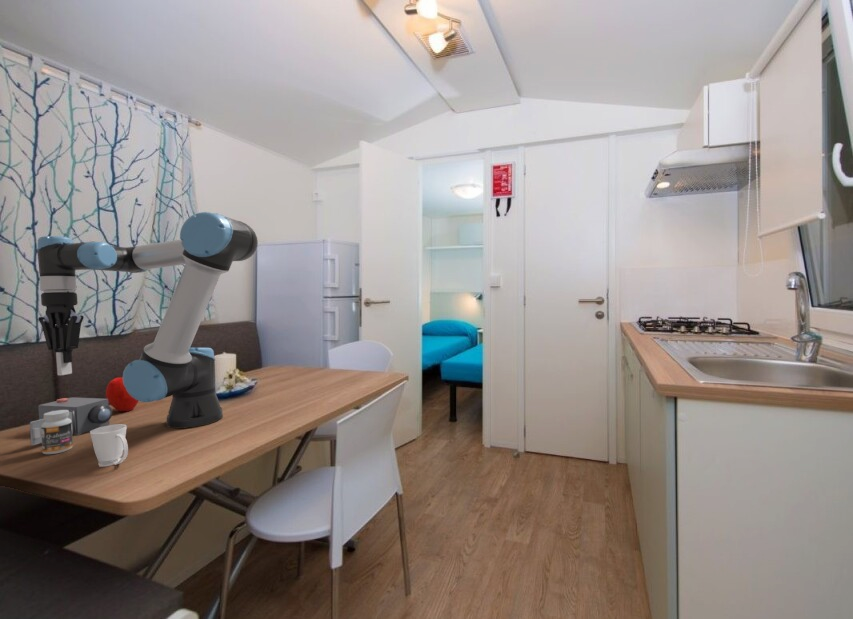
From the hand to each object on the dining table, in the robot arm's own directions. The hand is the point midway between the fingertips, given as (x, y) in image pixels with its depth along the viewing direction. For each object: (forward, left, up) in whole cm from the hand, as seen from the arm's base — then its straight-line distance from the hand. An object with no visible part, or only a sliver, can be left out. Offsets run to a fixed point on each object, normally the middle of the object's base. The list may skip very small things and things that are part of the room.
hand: (64, 374), depth 112 cm
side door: (-4, +6, -16) cm, 18 cm away
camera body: (+2, -4, -17) cm, 18 cm away
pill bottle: (-12, +11, -17) cm, 24 cm away
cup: (-34, +15, -17) cm, 41 cm away
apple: (+6, -22, -17) cm, 29 cm away
